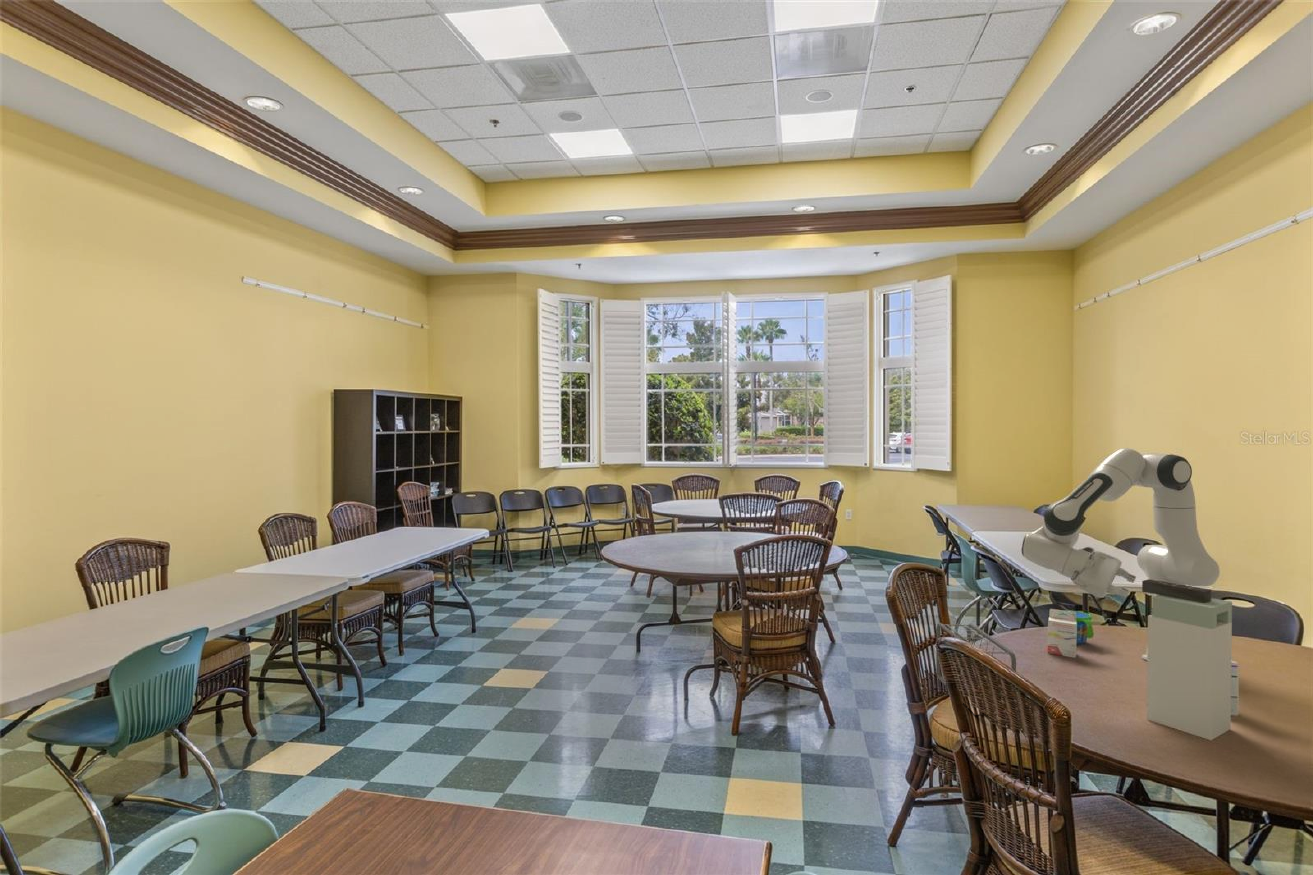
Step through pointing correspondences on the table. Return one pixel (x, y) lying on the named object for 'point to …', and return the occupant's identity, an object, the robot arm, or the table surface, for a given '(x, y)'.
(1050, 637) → the ink cartridge box
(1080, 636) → the snack cup
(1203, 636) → the slot stand
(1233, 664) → the syrup box
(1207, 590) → the domino bar
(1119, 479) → the robot arm
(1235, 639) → the table surface
